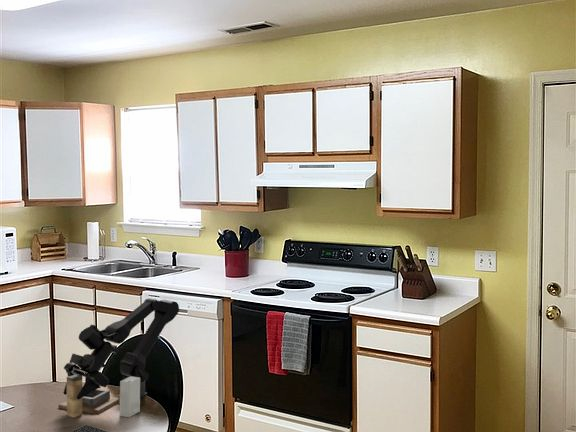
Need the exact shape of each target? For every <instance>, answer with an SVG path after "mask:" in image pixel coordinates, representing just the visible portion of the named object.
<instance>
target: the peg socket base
mask: <svg viewBox="0 0 576 432" xmlns="http://www.w3.org/2000/svg"><path fill="white" fill-rule="evenodd" d="M118 403H120V397H119V398H118V397H114V396H113V397H111V390H110V389H102V388H98V389H96V390H94V391H92V392H91V393H89V394H87V395H86V396H84V397H82V413H91V414H98V415H100V414H101V413H102V412H104V411H106V410H108V409H109V408H112V407H113V406H114V405H116V404H118ZM58 409H62V410H67V400H65V401H63V402H61V403H59V404H58Z"/></svg>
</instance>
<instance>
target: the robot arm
mask: <svg viewBox="0 0 576 432" xmlns="http://www.w3.org/2000/svg"><path fill="white" fill-rule="evenodd" d="M179 311H180V306H179V304H178V302H177V301H173V300H168V299H160V300H157V299H156V298H149V297H148V298H146V299H144V301H143V302H142V303H141V304H140V305H138V306H137V307H136V308H135V309H133V310H132V311H131V312H130V313H128V315H126V316H125V317H124V318H122V319H121V320H117V321H114V322H112V323H111V324H109V325H107V326H106V327H105V328H104V329H101V330H100V329H99V328H98V327H97V326H96V324H90V325H89V326H88V327H86V328H84V329H83V330H81V331H80V333H79V335H78V340H79V341H80V342H82V344H83V345H84V346H86V347H87V348H88V349H89V350H90V351H91V350H92V352H91V353H90V354H89V353H85V354H84V355H80V354H76V353H71V357H70V360H69V362H68V363H66V364H65V365H64V366H63V370H65V373H66V374H67V377H68V376H72V375H79V376H82V377H84V378H85V380H84V381H85V382H84V384H82V389H81V390H80V392H79V394H78V396H77V399H78V400H79V399H81V398H82V397H84V396H86V395H87V394H89V393H91V392H92V391H94V390H96V389H102V388H101V387H103V388H107V387H108V385H109V381H110V380H109V379H110V378H108V377H107V375H105V374H104V373H102V371H100V370H101V369H102V368H103V369H105V367H106V366H107V365H106V364H105V363H106V362H107V360H108V359H109V357H110V356H111V354H112V353H113V354H115V355H117V354H119V351H118V346H117V345H114V344H123V342H125V340H126V339H127V338H128V337H129V336H130V335H131V331H132V330H133V329H134V328H135V327H136V326H138V325H139V323H141V322H142V321H143V320H145V319H146V318H147V317H148V316H149V315H151V313H153V312H154V315H153V319H152V321H151V323H150V324H149V326H148V327H147V330H146V331H145V333H144V334H143V335H142V337H141V339H140V341H139V342H138V344H137V345H136V347H135V349H134V350H133V351H132V352H126V353H125V354H124V356H123V358H122V359H121V360H120V361H119V362H120V365H119V372H120V374H121V375H122V378H123V379H126V378H128V377H130V376H131V377H139V378H140V399H141V398H143V397H144V396H146V395H148V392H146V381H148V380H149V377H150V374H149V373H148V372H147V371H146V370H145V368H146V361H147V359H146V358H147V356H148V354H149V353H150V351H151V349H152V348H153V346H154V345H155V344H156V342H157V340H158V338H159V336H160V334H162V331H163V330H164V329H165V327H166V325H167V324H168V323H170V322H172V321H174V319H175V318H176V316H177V315H178V314H179ZM112 343H114V344H112ZM63 395H65V396H67V382H66V384H65V386H64V390H63Z"/></svg>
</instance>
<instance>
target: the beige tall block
mask: <svg viewBox="0 0 576 432" xmlns="http://www.w3.org/2000/svg"><path fill="white" fill-rule="evenodd" d="M66 383H67V394H66V401H67V409H66V416H68V417H71V418H76V417H79V416H82V415H83V412H82V398H81V399H79V400H78V399H77V396H78V394H79V392H80V390H81V389H82V387H83V376H79V375H72V376H68V375H67V376H66Z"/></svg>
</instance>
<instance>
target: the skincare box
mask: <svg viewBox="0 0 576 432" xmlns="http://www.w3.org/2000/svg"><path fill="white" fill-rule="evenodd" d="M119 398H120V402H119V416H120V417H126V418H131V417H133V416H134V415H136V414H138V413H139V412H140V411H141V398H140V378H139V377H131V376H130V377H128V378H126V379H125V378H123V379H122V380H120V382H119Z"/></svg>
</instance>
